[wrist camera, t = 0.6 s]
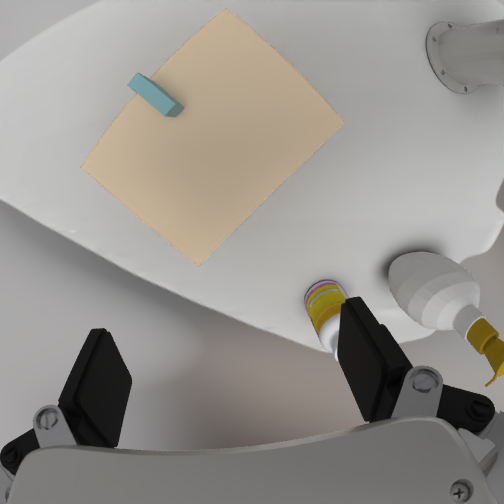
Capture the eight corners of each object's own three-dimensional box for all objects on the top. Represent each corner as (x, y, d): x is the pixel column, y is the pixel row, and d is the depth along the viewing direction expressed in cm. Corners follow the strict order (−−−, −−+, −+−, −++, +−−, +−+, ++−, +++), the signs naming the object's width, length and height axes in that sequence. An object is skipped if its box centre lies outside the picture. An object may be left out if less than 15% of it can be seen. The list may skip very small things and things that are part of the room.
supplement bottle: (295, 300, 47) (316, 357, 35) (324, 271, 45) (356, 321, 33) (322, 320, 49) (347, 374, 37) (350, 293, 47) (384, 343, 36)
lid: (225, 10, 21) (226, -16, 16) (343, 122, 27) (371, 124, 21) (82, 166, 26) (53, 178, 20) (198, 264, 31) (194, 295, 26)
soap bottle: (371, 296, 48) (452, 413, 24) (376, 248, 44) (482, 359, 21) (435, 283, 49) (522, 373, 25) (444, 239, 45) (549, 321, 21)
